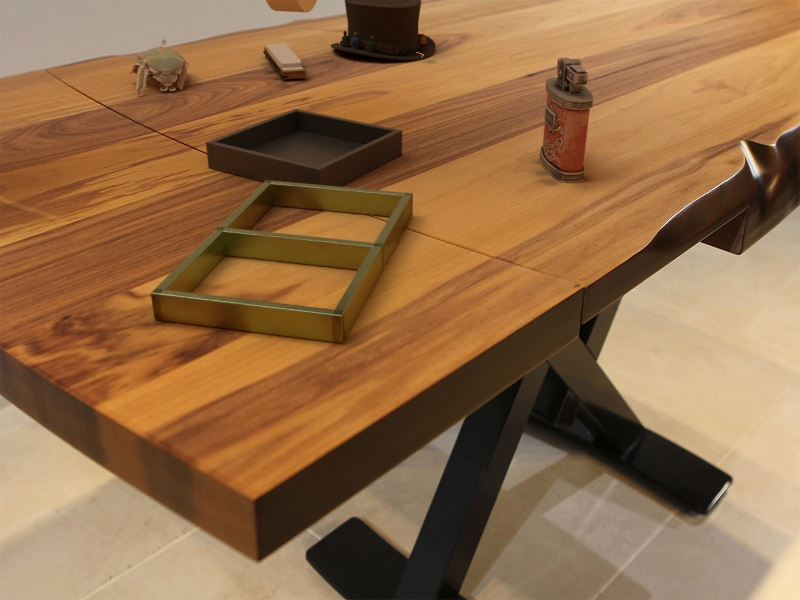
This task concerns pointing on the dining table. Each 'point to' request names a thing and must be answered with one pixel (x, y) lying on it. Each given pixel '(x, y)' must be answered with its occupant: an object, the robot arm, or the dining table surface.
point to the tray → (305, 149)
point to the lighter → (566, 122)
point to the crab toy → (160, 68)
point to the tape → (292, 5)
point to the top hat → (385, 30)
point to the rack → (240, 241)
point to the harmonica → (284, 61)
